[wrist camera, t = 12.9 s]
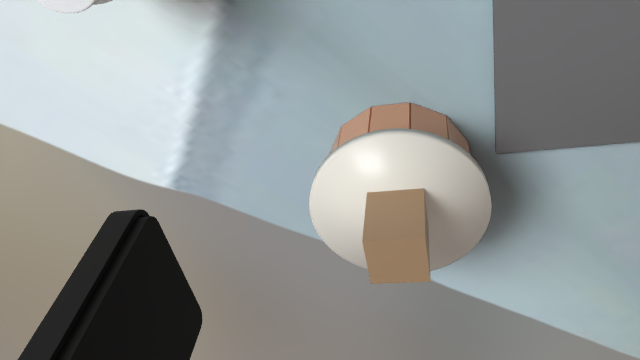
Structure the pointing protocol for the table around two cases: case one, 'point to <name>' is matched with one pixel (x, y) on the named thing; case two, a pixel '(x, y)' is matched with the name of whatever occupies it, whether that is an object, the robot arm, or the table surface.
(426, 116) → the bowl
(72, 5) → the pill bottle
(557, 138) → the mat
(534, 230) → the table surface
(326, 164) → the lid
